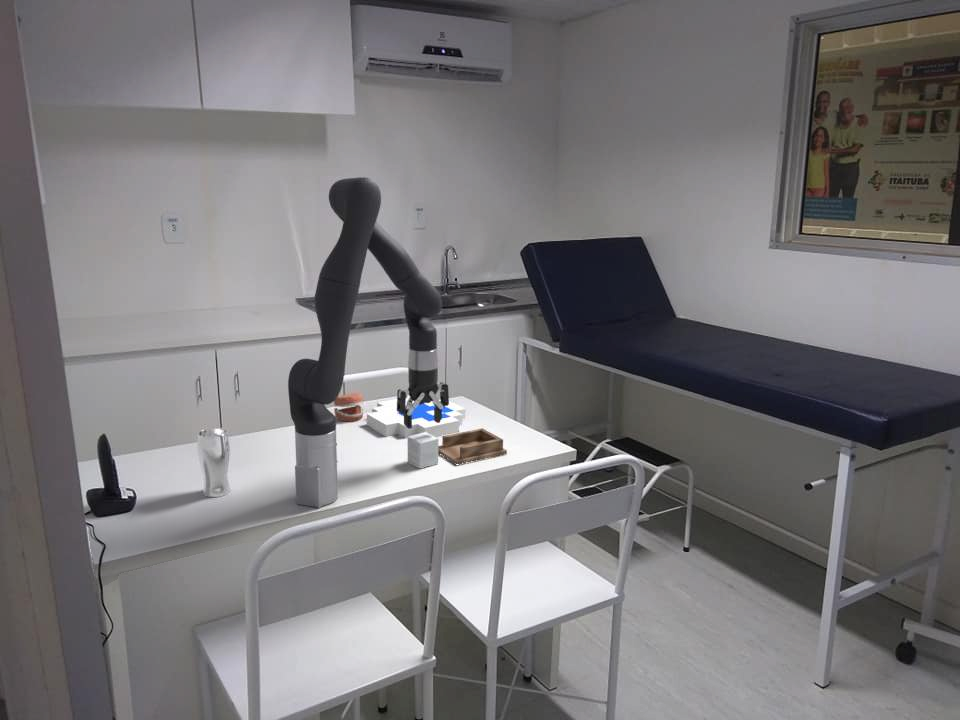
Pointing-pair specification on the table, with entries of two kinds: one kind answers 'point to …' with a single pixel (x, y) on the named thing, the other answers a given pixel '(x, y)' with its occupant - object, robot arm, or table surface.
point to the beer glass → (214, 460)
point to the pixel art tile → (415, 419)
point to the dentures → (349, 412)
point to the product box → (422, 450)
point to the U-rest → (471, 446)
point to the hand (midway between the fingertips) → (423, 424)
